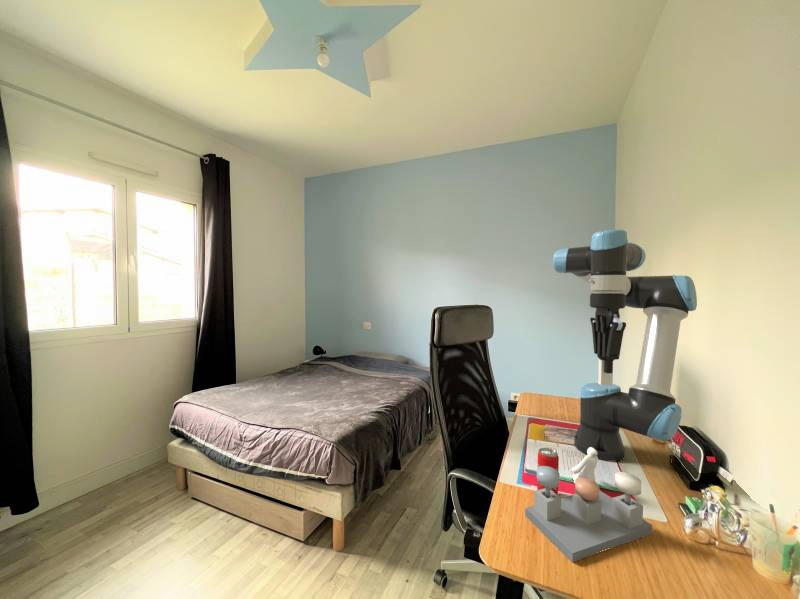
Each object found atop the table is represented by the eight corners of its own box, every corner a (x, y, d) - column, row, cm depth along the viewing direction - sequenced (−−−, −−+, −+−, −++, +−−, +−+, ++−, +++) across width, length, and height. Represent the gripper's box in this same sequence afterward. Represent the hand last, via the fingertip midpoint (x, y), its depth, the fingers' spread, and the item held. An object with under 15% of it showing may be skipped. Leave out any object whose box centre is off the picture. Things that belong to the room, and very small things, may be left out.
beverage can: (560, 502, 82) (561, 458, 82) (539, 499, 83) (540, 456, 83) (554, 489, 88) (555, 448, 87) (535, 487, 89) (535, 446, 88)
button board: (596, 495, 85) (597, 472, 85) (652, 533, 72) (652, 506, 72) (525, 515, 78) (525, 490, 77) (572, 562, 64) (573, 532, 64)
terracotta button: (585, 502, 78) (585, 475, 78) (603, 516, 73) (604, 488, 73) (569, 507, 76) (570, 479, 76) (587, 521, 72) (588, 492, 71)
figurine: (585, 495, 85) (586, 452, 85) (562, 478, 93) (563, 439, 92) (606, 489, 88) (607, 448, 87) (581, 473, 95) (582, 435, 95)
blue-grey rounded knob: (547, 490, 79) (548, 464, 79) (563, 503, 74) (564, 475, 74) (531, 495, 77) (532, 468, 77) (547, 508, 73) (547, 479, 72)
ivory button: (624, 497, 76) (625, 470, 76) (645, 511, 72) (646, 482, 71) (609, 502, 75) (610, 474, 75) (630, 516, 70) (631, 486, 70)
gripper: (580, 292, 85) (578, 376, 86) (604, 292, 73) (601, 392, 73) (610, 292, 84) (608, 377, 85) (639, 292, 71) (636, 393, 72)
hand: (605, 384), depth 79 cm, fingers closed
